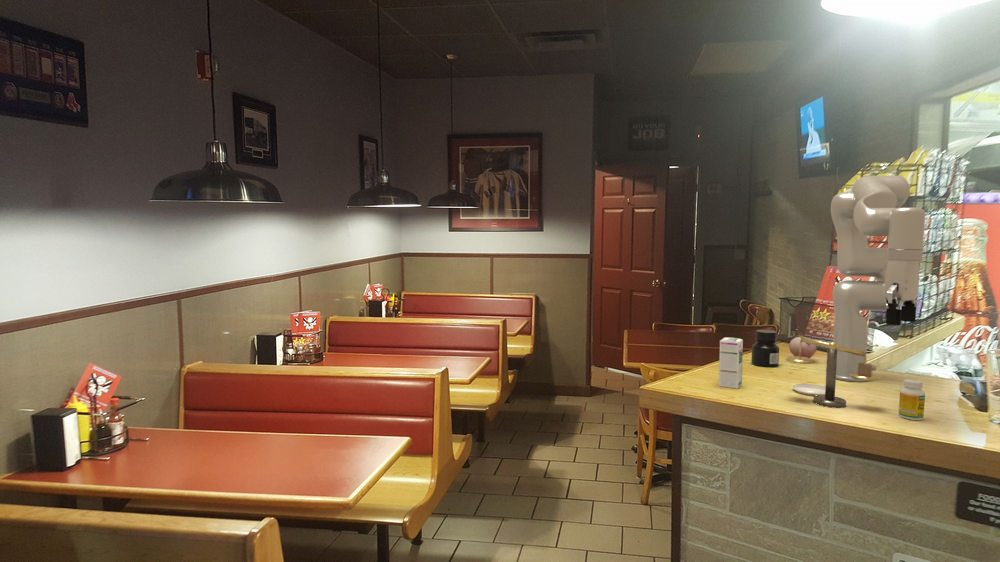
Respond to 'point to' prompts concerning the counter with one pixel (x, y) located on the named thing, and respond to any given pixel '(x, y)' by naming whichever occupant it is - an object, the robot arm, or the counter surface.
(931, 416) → the counter surface
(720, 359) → the syrup box
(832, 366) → the balance
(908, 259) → the robot arm
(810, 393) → the dish
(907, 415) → the supplement bottle
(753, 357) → the ink bottle
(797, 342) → the decorative fruit
